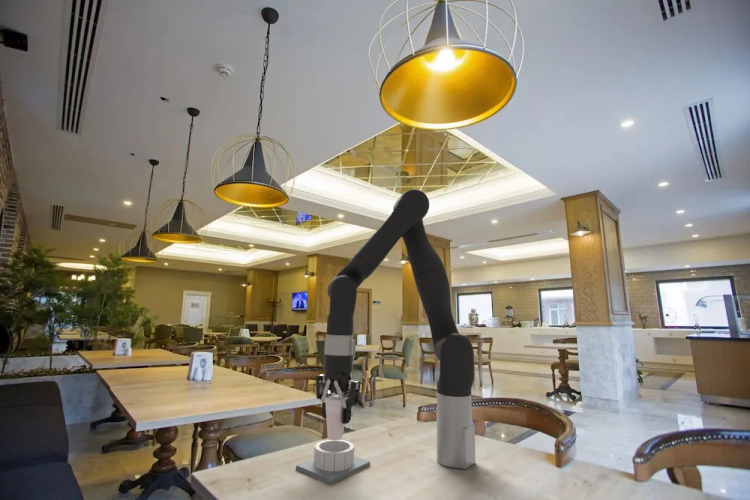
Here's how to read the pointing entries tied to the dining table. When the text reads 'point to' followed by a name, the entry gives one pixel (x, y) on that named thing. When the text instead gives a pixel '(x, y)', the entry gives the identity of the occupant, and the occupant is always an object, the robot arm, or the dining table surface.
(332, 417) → the smoothie
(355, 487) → the dining table surface
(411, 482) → the dining table surface
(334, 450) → the holder
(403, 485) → the dining table surface
